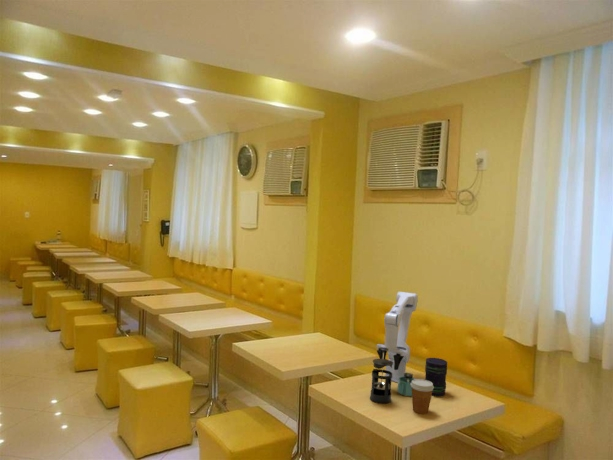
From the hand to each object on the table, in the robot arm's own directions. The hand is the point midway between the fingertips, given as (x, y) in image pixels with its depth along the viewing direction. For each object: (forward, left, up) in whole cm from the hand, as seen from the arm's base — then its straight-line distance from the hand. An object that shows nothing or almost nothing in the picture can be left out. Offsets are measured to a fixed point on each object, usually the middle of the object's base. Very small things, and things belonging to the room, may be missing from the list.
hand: (389, 367), depth 215 cm
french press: (+5, -13, -11) cm, 18 cm away
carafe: (+8, +4, -10) cm, 14 cm away
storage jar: (+16, +15, -11) cm, 24 cm away
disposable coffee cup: (+23, -9, -11) cm, 27 cm away
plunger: (+8, +4, -10) cm, 14 cm away
